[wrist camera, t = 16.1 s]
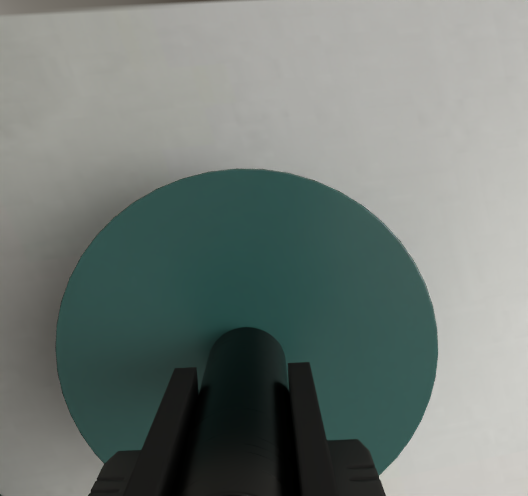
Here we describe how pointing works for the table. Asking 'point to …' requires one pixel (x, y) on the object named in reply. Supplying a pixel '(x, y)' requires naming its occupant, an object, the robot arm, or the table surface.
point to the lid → (246, 326)
